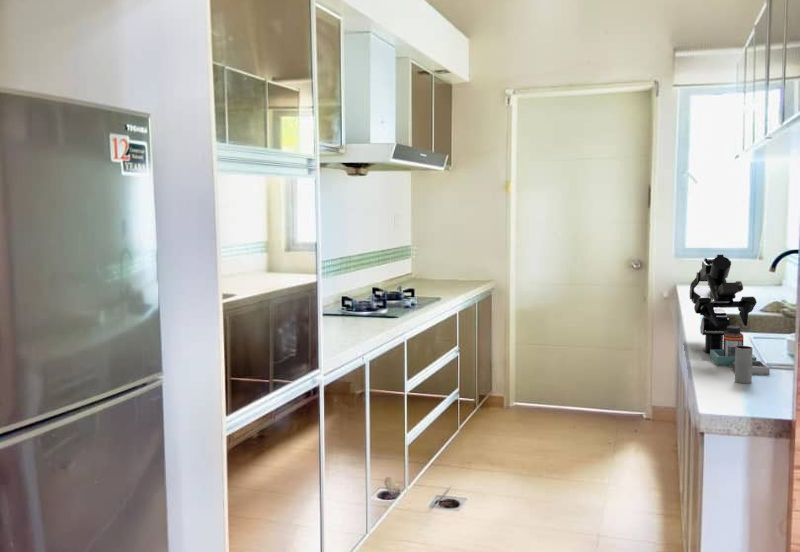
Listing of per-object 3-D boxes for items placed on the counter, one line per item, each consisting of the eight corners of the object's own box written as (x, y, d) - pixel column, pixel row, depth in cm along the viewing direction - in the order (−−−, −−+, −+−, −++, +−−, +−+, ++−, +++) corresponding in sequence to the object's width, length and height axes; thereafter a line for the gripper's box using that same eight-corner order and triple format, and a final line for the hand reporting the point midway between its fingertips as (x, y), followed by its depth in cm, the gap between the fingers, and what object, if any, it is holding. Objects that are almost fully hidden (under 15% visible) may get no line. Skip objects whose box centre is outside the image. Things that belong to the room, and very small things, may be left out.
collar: (730, 367, 237) (730, 360, 236) (761, 367, 235) (761, 360, 234) (736, 373, 228) (737, 366, 227) (769, 374, 226) (769, 367, 225)
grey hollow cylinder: (732, 379, 220) (732, 345, 219) (747, 379, 220) (748, 345, 219) (738, 383, 216) (739, 348, 215) (754, 383, 216) (755, 348, 215)
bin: (710, 358, 250) (710, 349, 249) (747, 359, 247) (747, 350, 247) (717, 366, 238) (717, 356, 238) (756, 366, 236) (756, 357, 236)
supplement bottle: (726, 358, 247) (726, 324, 245) (745, 360, 243) (746, 326, 242) (720, 361, 242) (721, 327, 241) (740, 363, 238) (740, 328, 237)
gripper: (697, 273, 247) (710, 311, 237) (754, 272, 246) (769, 310, 236) (689, 294, 255) (700, 331, 246) (744, 293, 255) (757, 330, 245)
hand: (732, 325), depth 243 cm, fingers open, 9 cm apart
